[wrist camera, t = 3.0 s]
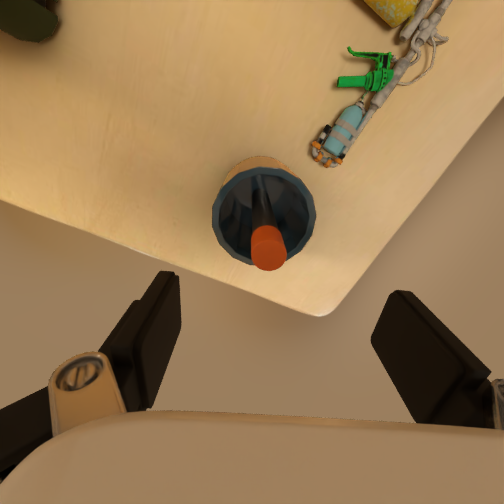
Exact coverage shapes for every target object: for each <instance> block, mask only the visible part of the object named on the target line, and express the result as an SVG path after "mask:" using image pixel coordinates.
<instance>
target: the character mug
mask: <svg viewBox="0 0 504 504" xmlns="http://www.w3.org/2000/svg"><path fill="white" fill-rule="evenodd" d="M53 1H55V2H57V0H53ZM45 7H46V1H45V0H0V30H2V31H4V32H6V33H8V34H10V35H12V36H13V37H15V38H17V39H19V40H24V41H31V42H38V43H39V42H41V41H42V40H44V39H46V38H48V37H50V36H52V34H53V31H54V29H55V27H56V25H57V23H58V16H57V15H55V14H54V13H52V12H50V11H49V10H47V9H46V8H45Z"/></svg>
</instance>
